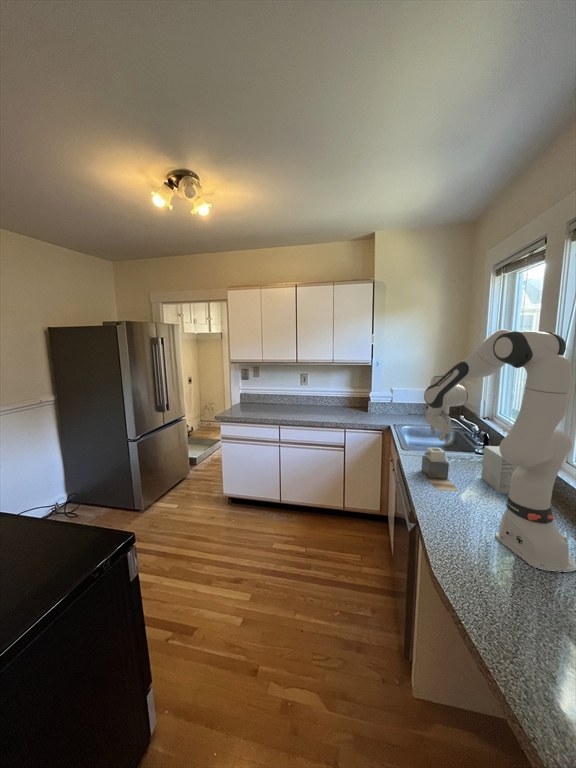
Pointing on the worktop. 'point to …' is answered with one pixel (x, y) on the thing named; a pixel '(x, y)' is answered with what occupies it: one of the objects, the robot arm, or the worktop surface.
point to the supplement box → (496, 470)
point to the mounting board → (442, 484)
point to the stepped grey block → (434, 469)
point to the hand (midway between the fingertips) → (437, 437)
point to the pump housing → (435, 454)
